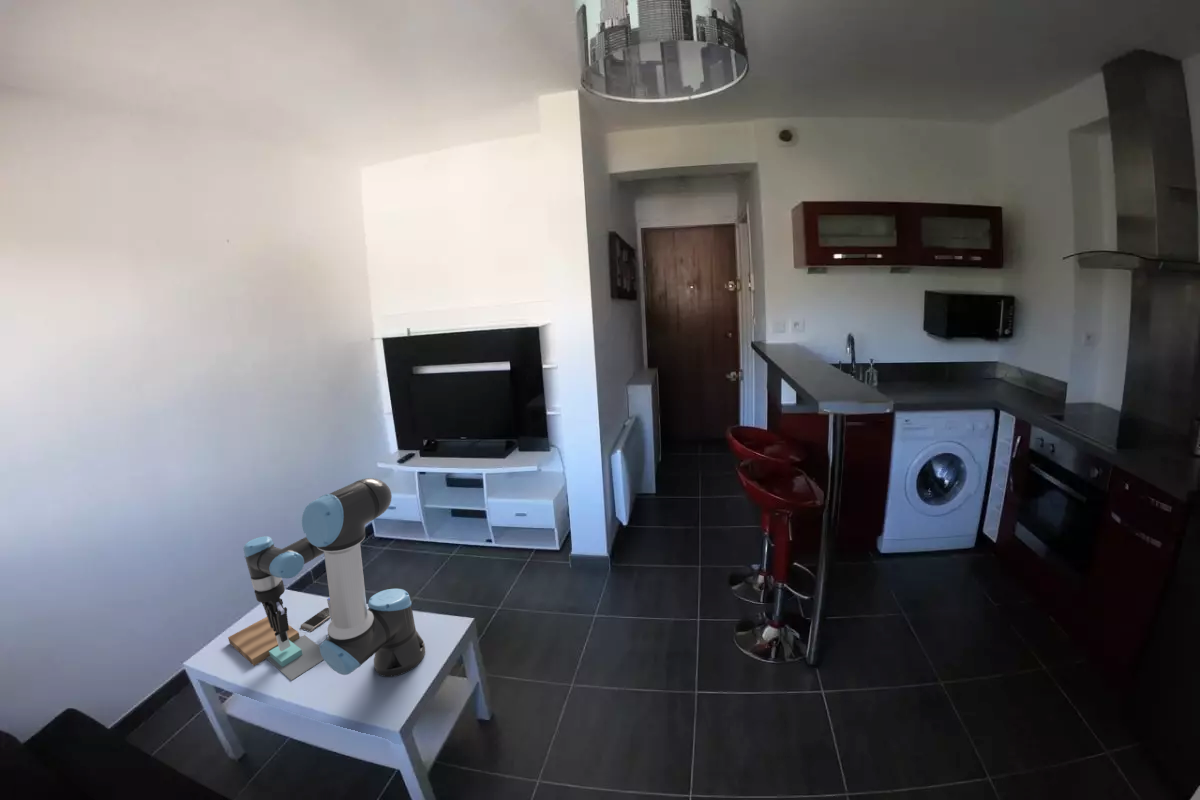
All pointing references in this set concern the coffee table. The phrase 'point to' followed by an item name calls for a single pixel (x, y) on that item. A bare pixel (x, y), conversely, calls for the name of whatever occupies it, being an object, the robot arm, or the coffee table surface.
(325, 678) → the coffee table surface
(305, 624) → the cell phone
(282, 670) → the mat
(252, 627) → the wooden board
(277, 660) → the teal rectangular block
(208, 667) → the coffee table surface
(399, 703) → the coffee table surface
